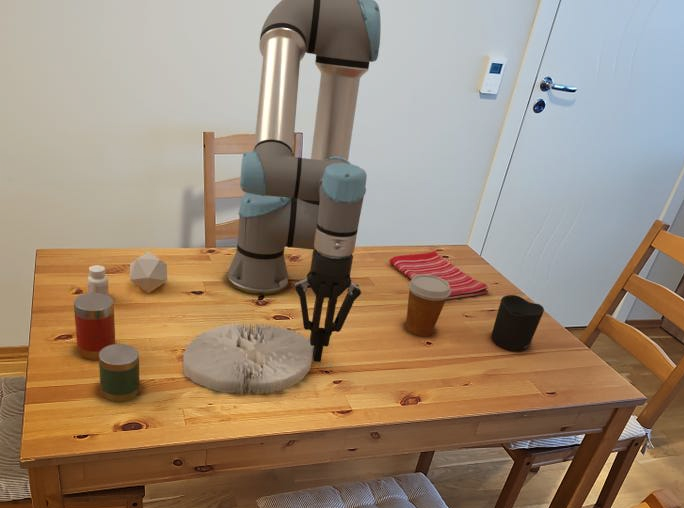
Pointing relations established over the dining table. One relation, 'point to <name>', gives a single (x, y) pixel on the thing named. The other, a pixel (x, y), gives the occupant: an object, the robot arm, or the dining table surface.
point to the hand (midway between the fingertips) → (316, 358)
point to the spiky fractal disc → (247, 358)
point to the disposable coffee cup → (425, 303)
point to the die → (148, 272)
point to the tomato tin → (94, 324)
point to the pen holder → (516, 323)
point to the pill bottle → (97, 280)
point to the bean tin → (119, 372)
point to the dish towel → (439, 273)
